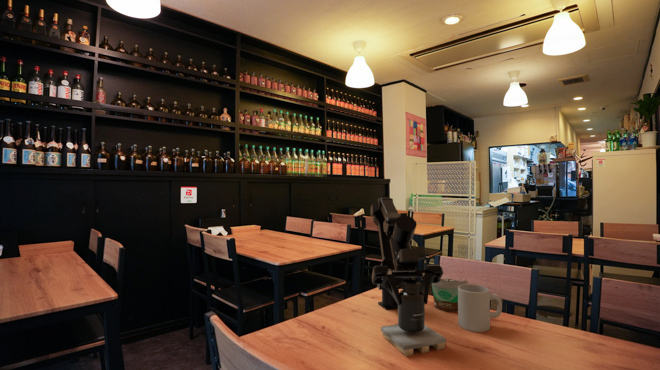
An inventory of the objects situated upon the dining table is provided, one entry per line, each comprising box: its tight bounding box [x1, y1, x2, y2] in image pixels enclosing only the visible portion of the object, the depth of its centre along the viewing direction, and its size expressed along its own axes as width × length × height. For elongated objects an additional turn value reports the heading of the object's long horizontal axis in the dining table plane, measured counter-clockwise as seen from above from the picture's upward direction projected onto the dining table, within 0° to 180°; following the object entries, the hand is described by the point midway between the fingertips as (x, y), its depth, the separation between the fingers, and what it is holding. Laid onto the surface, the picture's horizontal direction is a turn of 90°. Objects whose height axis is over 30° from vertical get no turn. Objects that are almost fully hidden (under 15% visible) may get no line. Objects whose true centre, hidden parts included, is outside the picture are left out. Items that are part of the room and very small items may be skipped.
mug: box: [457, 283, 503, 333], centre depth 97 cm, size 12×8×11 cm
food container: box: [431, 278, 469, 313], centre depth 110 cm, size 12×6×10 cm, turn 68°
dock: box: [380, 323, 447, 357], centre depth 87 cm, size 12×12×2 cm
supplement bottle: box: [397, 278, 426, 332], centre depth 88 cm, size 7×7×12 cm
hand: (412, 303), depth 86 cm, fingers closed on supplement bottle, 7 cm apart
